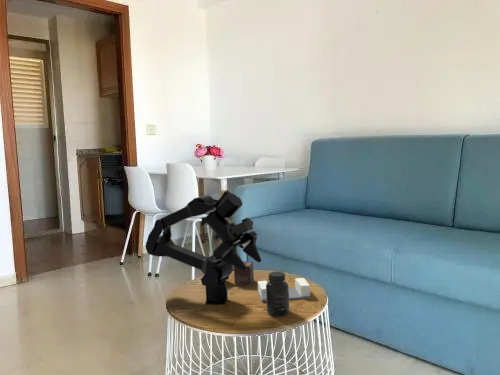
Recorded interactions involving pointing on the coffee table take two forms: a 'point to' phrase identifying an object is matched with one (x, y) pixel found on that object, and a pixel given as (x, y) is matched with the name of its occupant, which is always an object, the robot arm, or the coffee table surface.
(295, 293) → the rail plate
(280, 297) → the supplement bottle
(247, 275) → the box
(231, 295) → the coffee table surface
